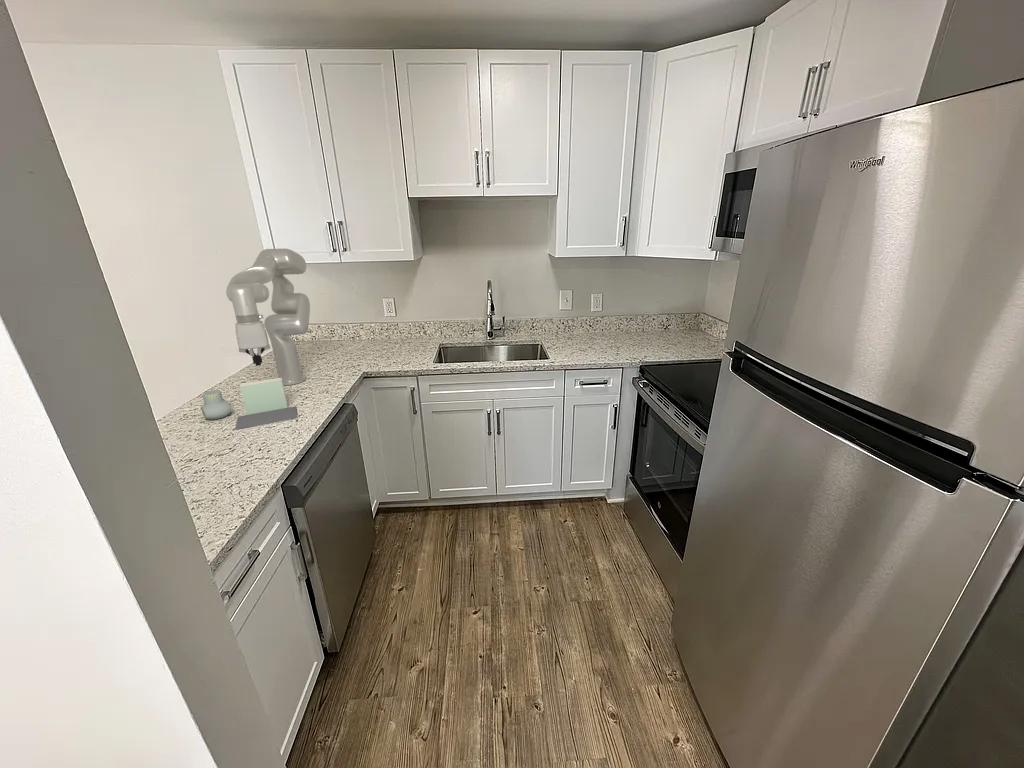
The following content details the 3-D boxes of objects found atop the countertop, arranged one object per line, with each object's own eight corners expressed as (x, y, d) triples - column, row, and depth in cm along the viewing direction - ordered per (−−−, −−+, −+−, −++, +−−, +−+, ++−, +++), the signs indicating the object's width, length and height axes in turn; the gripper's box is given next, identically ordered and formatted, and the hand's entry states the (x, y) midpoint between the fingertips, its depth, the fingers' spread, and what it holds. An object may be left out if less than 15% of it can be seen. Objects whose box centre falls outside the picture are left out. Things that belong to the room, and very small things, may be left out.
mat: (238, 418, 161) (237, 416, 161) (296, 407, 169) (295, 406, 169) (235, 430, 151) (235, 428, 151) (297, 418, 160) (296, 416, 160)
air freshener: (202, 415, 164) (195, 391, 160) (227, 409, 169) (220, 386, 165) (208, 424, 156) (201, 399, 153) (234, 417, 162) (227, 393, 158)
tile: (248, 412, 166) (240, 383, 162) (287, 405, 172) (281, 377, 168) (247, 416, 163) (239, 387, 158) (287, 408, 169) (281, 380, 164)
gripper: (270, 315, 168) (279, 360, 174) (226, 319, 161) (237, 365, 167) (269, 318, 161) (279, 364, 167) (223, 322, 155) (235, 370, 161)
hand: (258, 364), depth 167 cm, fingers closed
